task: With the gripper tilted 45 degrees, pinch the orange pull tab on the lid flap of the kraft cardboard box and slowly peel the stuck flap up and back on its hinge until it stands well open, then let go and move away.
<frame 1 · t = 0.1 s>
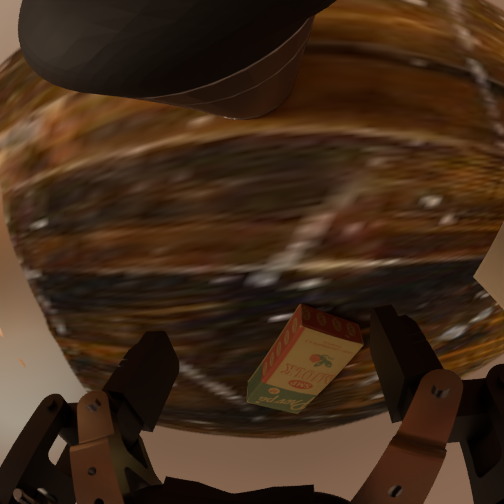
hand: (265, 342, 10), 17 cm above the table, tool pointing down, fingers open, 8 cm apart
carton: (298, 355, 34), on the table
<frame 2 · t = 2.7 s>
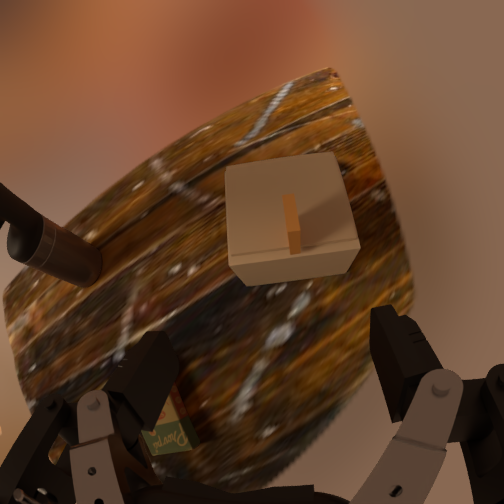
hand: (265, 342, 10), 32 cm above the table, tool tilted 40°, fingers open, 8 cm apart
carton: (165, 407, 39), on the table
cardboard box: (291, 239, 45), on the table
lid flap: (285, 188, 31), point 16 cm above the table, hinge at 0.0°
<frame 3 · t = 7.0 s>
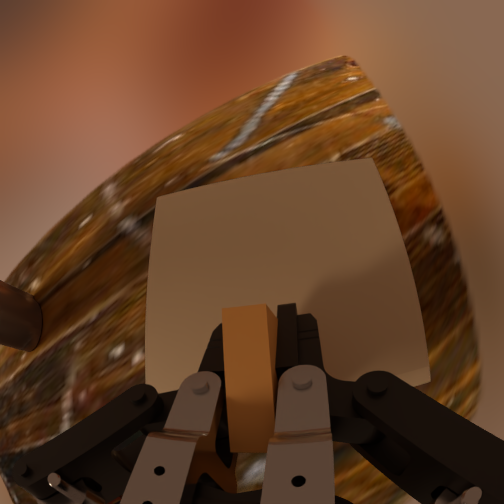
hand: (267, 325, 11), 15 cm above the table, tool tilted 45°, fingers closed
cardboard box: (291, 318, 25), on the table
lid flap: (260, 255, 12), point 16 cm above the table, hinge at 0.0°, touching gripper
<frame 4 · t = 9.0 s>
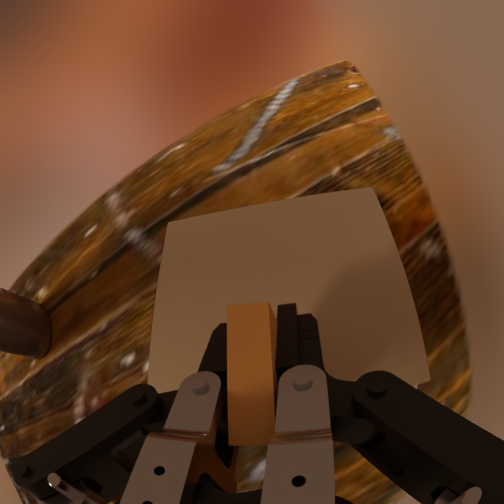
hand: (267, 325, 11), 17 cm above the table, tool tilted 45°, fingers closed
lid flap: (265, 272, 12), point 17 cm above the table, hinge at 10.3°, touching gripper
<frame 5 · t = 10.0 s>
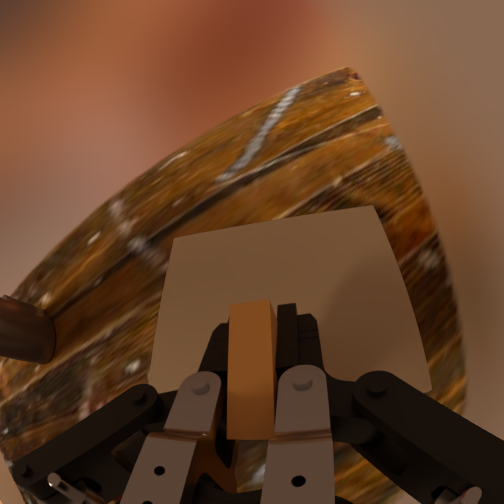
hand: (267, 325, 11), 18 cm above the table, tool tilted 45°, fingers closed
lid flap: (267, 282, 13), point 17 cm above the table, hinge at 16.1°, touching gripper
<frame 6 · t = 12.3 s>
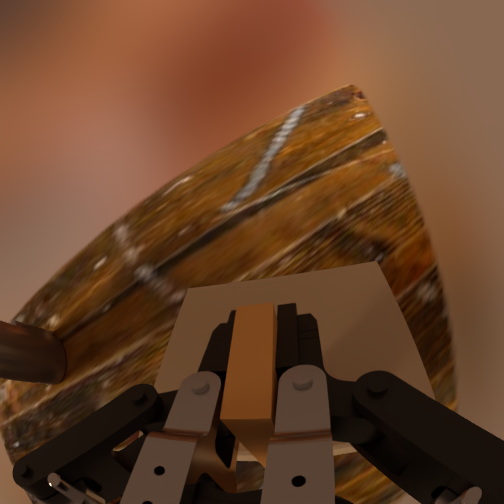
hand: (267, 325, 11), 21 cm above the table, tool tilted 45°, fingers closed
lid flap: (273, 316, 13), point 19 cm above the table, hinge at 35.1°, touching gripper
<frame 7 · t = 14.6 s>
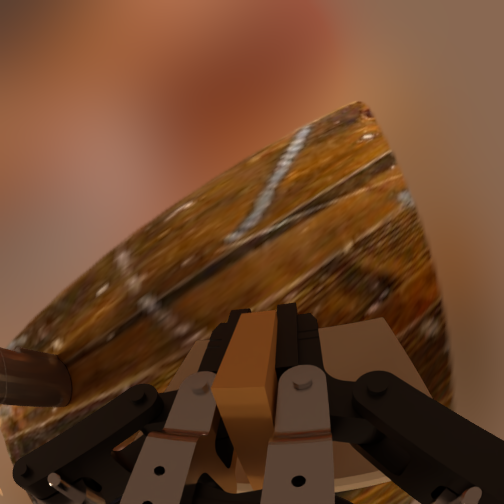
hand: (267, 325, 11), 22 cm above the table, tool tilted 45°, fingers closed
cardboard box: (302, 403, 28), on the table
lid flap: (278, 351, 13), point 20 cm above the table, hinge at 54.5°, touching gripper
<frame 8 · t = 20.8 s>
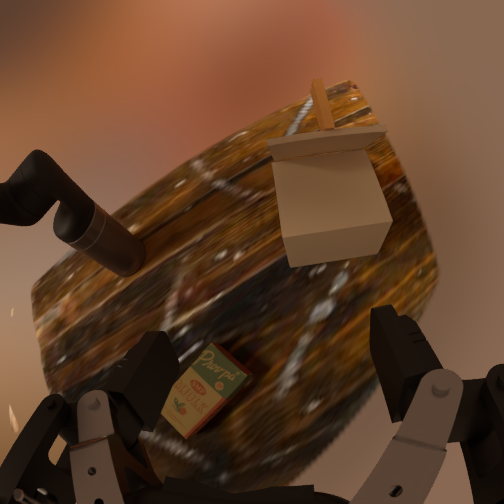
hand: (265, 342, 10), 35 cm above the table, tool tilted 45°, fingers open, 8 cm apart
carton: (207, 391, 42), on the table
cardboard box: (327, 225, 49), on the table
lid flap: (318, 121, 34), point 20 cm above the table, hinge at 55.1°
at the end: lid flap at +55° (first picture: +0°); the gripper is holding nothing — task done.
